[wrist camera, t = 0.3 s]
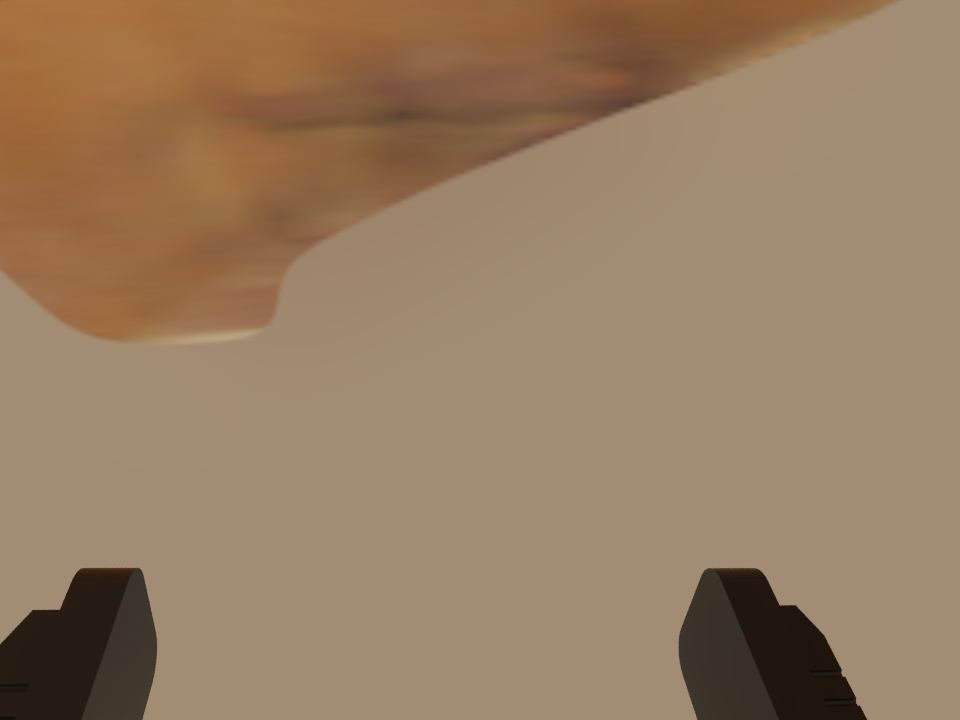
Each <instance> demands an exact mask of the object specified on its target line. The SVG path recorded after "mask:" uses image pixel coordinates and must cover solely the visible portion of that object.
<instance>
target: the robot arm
mask: <svg viewBox="0 0 960 720" xmlns="http://www.w3.org/2000/svg"><path fill="white" fill-rule="evenodd" d="M156 656H157V638H156V631H155V626H154V622H153V617H152V612H151V608H150V604H149V599H148V594H147V589H146V585H145V580H144V576H143V573H142V570H141V569H139V568H82V569H80V570H79V571H78V572H77V573H76V574H75V576H74V578H73V580H72V582H71V584H70V587H69V589H68V592H67V594H66V597H65V599H64V601H63V604H62V606H61V609H60V610H32V612H31V613H30V614H29V615H28V616H27V617H26V618H25V619H24V620H23V621H22V622H21V623H20V624H19V625H18V626H17V627H16V628H15V629H14V631H12V633H11V634H10V635H9V636H8V637H7V638H6V639H5V640H4V641H3V642H2V643H1V644H0V720H142V719H143V715H144V711H145V708H146V704H147V700H148V697H149V693H150V689H151V686H152V682H153V677H154V673H155V666H156ZM679 659H680V665H681V670H682V673H683V677H684V680H685V683H686V686H687V689H688V692H689V695H690V698H691V701H692V704H693V708H694V711H695V714H696V717H697V720H867V718H866V717H865V715H864V713H863V711H862V709H861V707H860V706H857V704H856V697H855V695H854V693H853V691H852V689H851V687H850V685H849V683H848V681H847V679H846V677H843V676H842V674H841V671H842V669H841V667H840V666H839V664H838V662H837V660H836V658H835V656H834V654H833V652H832V650H831V648H830V646H829V644H828V642H827V640H826V638H825V636H824V635H823V634H822V633H821V632H820V631H819V629H817V627H816V626H815V625H814V624H813V623H812V622H811V621H810V620H809V619H808V618H807V617H806V616H805V615H804V614H803V613H802V612H801V611H800V610H799V609H798V607H797V606H796V605H788V606H786V605H784V606H780V605H779V603H778V601H777V599H776V597H775V595H774V593H773V591H772V589H771V587H770V585H769V582H768V580H767V578H766V577H765V575H764V574H763V573H762V572H761V571H760V570H758V569H755V568H718V569H717V568H709V569H706V570H705V571H704V572H703V574H702V576H701V578H700V581H699V584H698V586H697V589H696V591H695V594H694V597H693V599H692V602H691V604H690V607H689V610H688V612H687V615H686V618H685V620H684V623H683V625H682V628H681V631H680V636H679Z"/></svg>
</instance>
